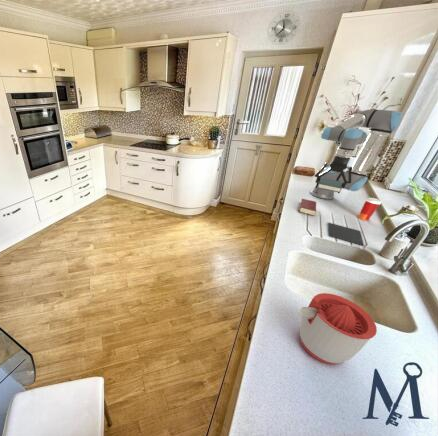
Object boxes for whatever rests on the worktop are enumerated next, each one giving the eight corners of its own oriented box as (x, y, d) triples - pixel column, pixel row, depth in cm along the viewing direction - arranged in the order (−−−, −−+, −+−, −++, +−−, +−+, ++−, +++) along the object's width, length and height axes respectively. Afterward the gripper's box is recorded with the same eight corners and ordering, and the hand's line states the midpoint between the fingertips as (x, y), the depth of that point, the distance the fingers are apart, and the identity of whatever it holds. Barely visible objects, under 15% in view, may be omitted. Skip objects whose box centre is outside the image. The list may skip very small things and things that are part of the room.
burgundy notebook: (300, 203, 174) (302, 198, 172) (314, 206, 170) (316, 201, 168) (298, 211, 162) (300, 206, 160) (313, 215, 158) (315, 210, 155)
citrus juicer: (285, 317, 86) (305, 278, 76) (340, 335, 81) (370, 296, 71) (289, 357, 74) (315, 316, 64) (355, 381, 68) (394, 340, 58)
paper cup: (368, 217, 159) (379, 198, 152) (372, 222, 153) (383, 203, 146) (354, 214, 162) (364, 196, 154) (357, 219, 155) (368, 200, 148)
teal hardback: (318, 181, 156) (320, 177, 154) (339, 185, 150) (341, 181, 149) (317, 187, 146) (319, 183, 144) (339, 192, 140) (341, 188, 139)
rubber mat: (328, 223, 150) (328, 222, 149) (359, 231, 142) (359, 230, 142) (329, 235, 136) (329, 235, 136) (363, 245, 129) (363, 245, 129)
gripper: (319, 153, 141) (305, 187, 152) (369, 161, 130) (350, 197, 141) (319, 151, 147) (306, 183, 157) (367, 158, 135) (349, 193, 146)
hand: (326, 190), depth 149 cm, fingers closed on teal hardback, 11 cm apart
